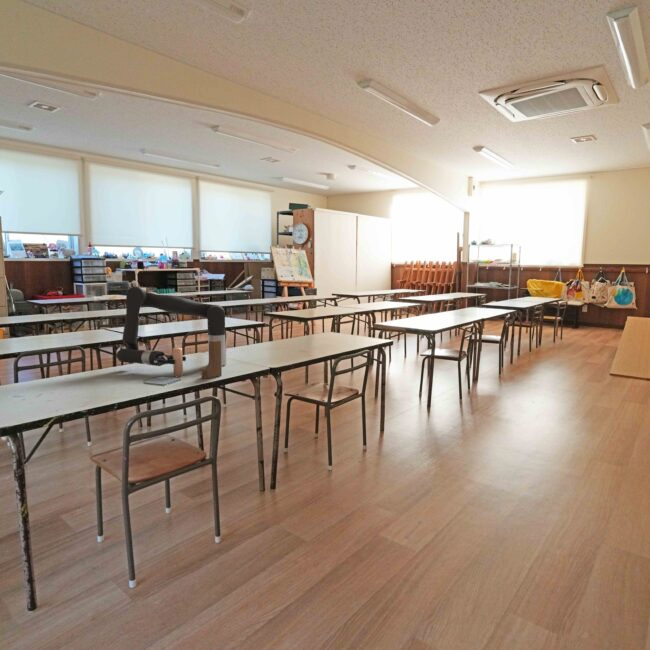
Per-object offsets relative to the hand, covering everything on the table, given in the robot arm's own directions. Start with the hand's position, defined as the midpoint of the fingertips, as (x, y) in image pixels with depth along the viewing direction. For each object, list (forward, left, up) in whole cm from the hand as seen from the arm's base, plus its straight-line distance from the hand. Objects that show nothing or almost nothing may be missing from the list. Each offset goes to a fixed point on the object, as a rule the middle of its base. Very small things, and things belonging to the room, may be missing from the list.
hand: (180, 360), depth 231 cm
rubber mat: (+12, -1, -8) cm, 14 cm away
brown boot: (-5, +15, -8) cm, 17 cm away
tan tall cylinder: (0, -1, -8) cm, 8 cm away
